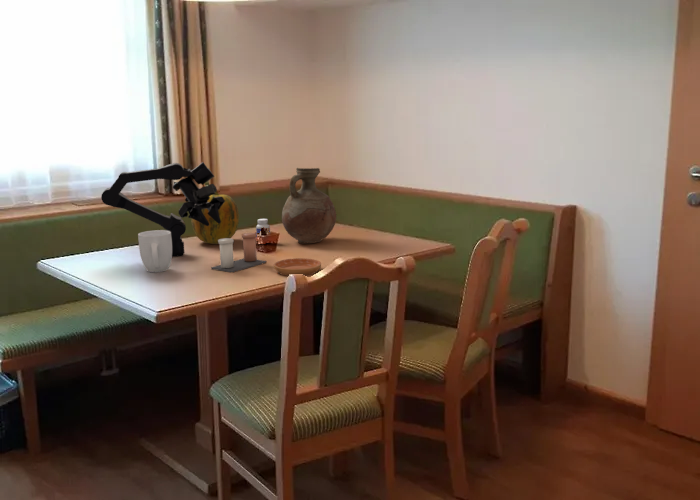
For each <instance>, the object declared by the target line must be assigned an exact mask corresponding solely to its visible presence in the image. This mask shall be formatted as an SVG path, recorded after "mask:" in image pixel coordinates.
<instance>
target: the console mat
mask: <svg viewBox="0 0 700 500" xmlns="http://www.w3.org/2000/svg"><path fill="white" fill-rule="evenodd" d="M233 261H234V267H231V268H221V264H218V265H215V266H210V268H211V270H215V271H220V272H225V273H226V272H227V273H231V272H233V273H235V271H236V272H239V271H238V270H240V271H243V270H245V269H249V267H250V268H253V267H257V266H260V265H263V264H266V263H267V261H266V260H263V259H262V260H261V259H257V260H256V261H250V262H248V261H244V257H243V258H241V259H237V260H233ZM265 262H266V263H265ZM262 263H263V264H262ZM256 265H257V266H256Z"/></svg>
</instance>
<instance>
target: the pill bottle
mask: <svg viewBox="0 0 700 500" xmlns="http://www.w3.org/2000/svg"><path fill="white" fill-rule="evenodd" d="M268 223H269V221H268V218H259V219H257V225H256V226H255V229H256V232H255V233H256V234H257V233H260V231H261V228H263V227H265V228H267V230H268V231H269V232H270V233H271V226H270V225H269V224H268Z"/></svg>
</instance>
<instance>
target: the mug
mask: <svg viewBox="0 0 700 500" xmlns="http://www.w3.org/2000/svg"><path fill="white" fill-rule="evenodd" d="M137 237H138V238H137V239H138V249H139V255H140V258H141V261H142V264H143V266H144V268H145V269H146V270H147V272H149V273H161V272H166V271H167V270H168V269H169V267H170V265H171V262H172V257H173V256H172V238H171V232H170V231H167V230H166V229H160V230H159V229H157V230H155V229H154V230H146V231H141V232H139V233H137Z"/></svg>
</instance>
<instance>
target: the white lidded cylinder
mask: <svg viewBox="0 0 700 500" xmlns="http://www.w3.org/2000/svg"><path fill="white" fill-rule="evenodd" d="M234 241H235V240H234V238H232V237H231V238H224V239H219V240H218V243H219V244H218V245H219V257H220V258H219V259H220V265H221V268H231V267H234V261H235V260H234V249H233V248H234V247H233V246H234V245H233V244H234Z"/></svg>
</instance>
